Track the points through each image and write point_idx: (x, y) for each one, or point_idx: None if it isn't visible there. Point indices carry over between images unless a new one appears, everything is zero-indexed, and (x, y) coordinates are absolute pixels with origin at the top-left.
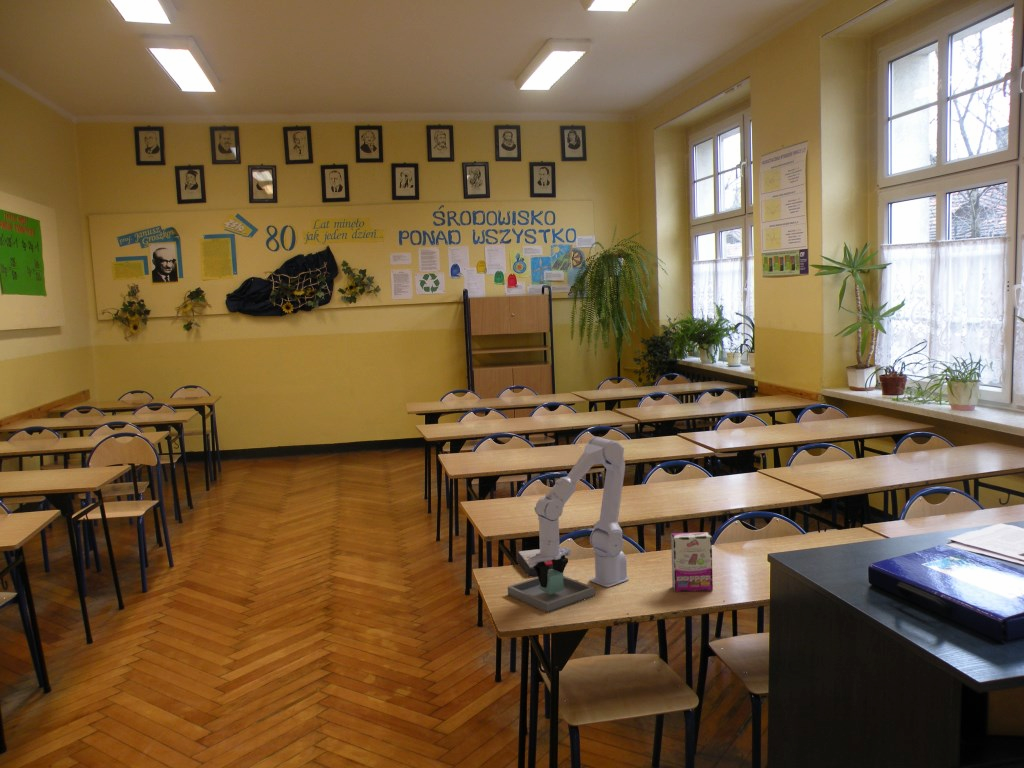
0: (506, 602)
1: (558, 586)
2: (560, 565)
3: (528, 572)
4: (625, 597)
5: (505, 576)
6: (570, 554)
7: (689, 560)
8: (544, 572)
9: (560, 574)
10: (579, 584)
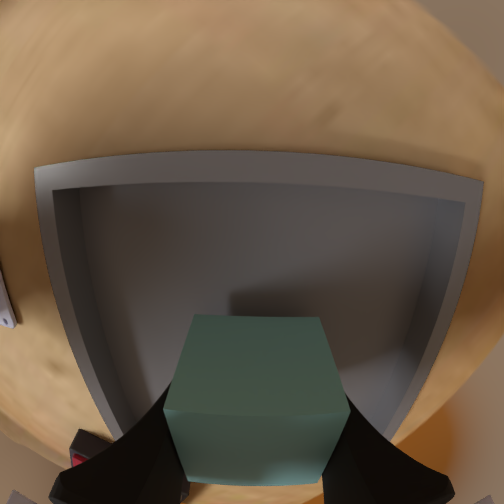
0: (434, 384)
1: (241, 338)
2: (154, 487)
3: (189, 485)
4: (3, 69)
5: (250, 495)
6: (12, 494)
7: None
8: (404, 460)
9: (202, 411)
10: (71, 290)
